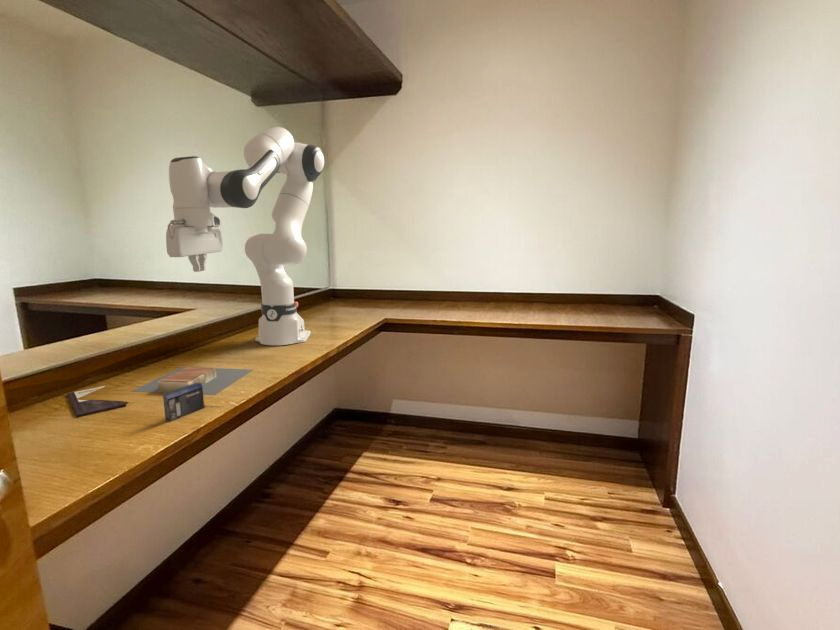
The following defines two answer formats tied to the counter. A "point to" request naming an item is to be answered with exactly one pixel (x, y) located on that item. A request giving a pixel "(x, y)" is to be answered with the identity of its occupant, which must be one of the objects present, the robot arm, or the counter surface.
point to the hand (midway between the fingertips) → (199, 271)
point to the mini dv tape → (183, 401)
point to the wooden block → (186, 378)
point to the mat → (210, 388)
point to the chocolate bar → (91, 403)
